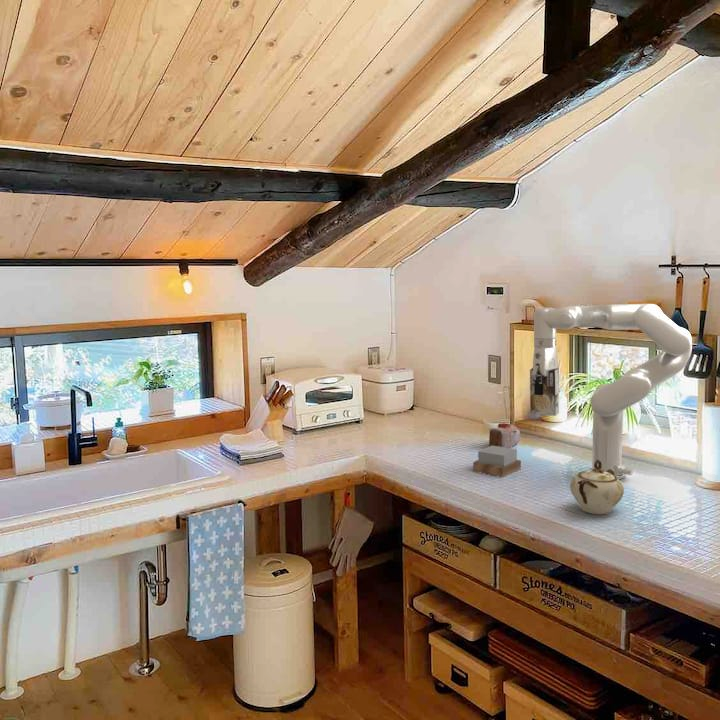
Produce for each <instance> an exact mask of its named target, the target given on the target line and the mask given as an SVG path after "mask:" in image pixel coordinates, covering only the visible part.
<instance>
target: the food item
mask: <svg viewBox="0 0 720 720" xmlns="http://www.w3.org/2000/svg"><path fill="white" fill-rule="evenodd" d="M488 439H489V440H488V447H490V446H498V447H505V448H511V447H512V448H513V447H514V446H517V445H518V444H519V443H520V442H521V430H520V429H519V428H518V426H516V425H515V424H512V423H511V424H510V423H505V422H504V423H501V422H500V423H498V424H497V427H495V428H491V429H489V438H488Z"/></svg>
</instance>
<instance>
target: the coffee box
mask: <svg viewBox="0 0 720 720" xmlns="http://www.w3.org/2000/svg"><path fill="white" fill-rule="evenodd" d="M559 370H560V368H559V367H558V368H556V369H552V370H549V373H548V375H549V376H547V377H544V379H543V382H542V384H543V395H535V394H534V380H533V377H532V375H531V373H532V371H533V367H532V368H531V369H529V392H530V393H529V398H530V399H529V402H530V404H529V405H530V407H529V408H530V415H533V416H534V415H535V416H537V415H538V416H551V417H554V416H555V417H556V416H557V415H559V414H560V390H559V389H560V383H559V382H560V380H559V379H560V377H559V376H560V375H559V373H560V371H559ZM537 375H541V373H540V371H538V373H537ZM540 378H541V377H539V379H540Z"/></svg>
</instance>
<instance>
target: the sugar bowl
mask: <svg viewBox="0 0 720 720" xmlns="http://www.w3.org/2000/svg"><path fill="white" fill-rule="evenodd" d="M597 463H598V464H599V466H598V467H597ZM601 465H602V464H601V461H599V460H596V461H595V463H594V467H595V469H593V470H588V469H587V470H586V471H582V472H578V473H577V475H575V476H574V477H572V480H571V481H570V484H569V489H570V493H571V495H572V497H573V498H574V500H575V501H576V502H577V504H578V506H580V509H581V510H582V511H584V512H585V513H588V514H592V515H593V514H594V515H607V514H609V513H611V512H612V510H614V508H615V507H616V506H617V505H618V504H619V503H620V502H621V500H622V498H623V497H624V493H625V488H624V486H623V485H624V484H623V483H622V482H621V479H618V478H617V477H616V476H614V472H613V470H611V469H608V470H606V471H603V470H600V469H601V468H602V466H601Z"/></svg>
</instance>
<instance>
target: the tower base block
mask: <svg viewBox="0 0 720 720" xmlns="http://www.w3.org/2000/svg"><path fill="white" fill-rule="evenodd" d="M472 464H473V466H472V467H473V472H474V471H476V472H475V473H478V472H481V473H480V474H483V473H485V474H484V475H488V474H490V475H489V476H492V475H494V476H493V477H497V476H499V477H498V478H501V477H503V478H505V477H507V475H508V476H510V475H513V474H515V473H518V472H520V471H521V470H522V460H519V459H517V460H516V461H514V462H512V463H511V464H509V465H507V466H505V467H502V466H496V465H490V464H484V463H478V460H475V461H473V462H472ZM519 470H520V471H519ZM514 472H515V473H514ZM512 473H513V474H512ZM509 474H510V475H509ZM504 476H505V477H504Z"/></svg>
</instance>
